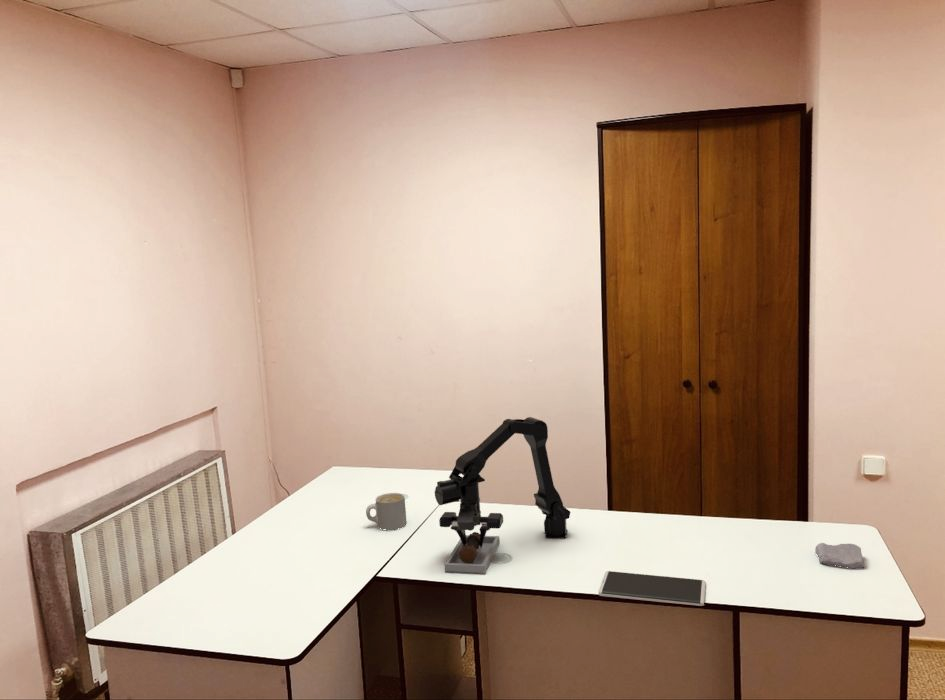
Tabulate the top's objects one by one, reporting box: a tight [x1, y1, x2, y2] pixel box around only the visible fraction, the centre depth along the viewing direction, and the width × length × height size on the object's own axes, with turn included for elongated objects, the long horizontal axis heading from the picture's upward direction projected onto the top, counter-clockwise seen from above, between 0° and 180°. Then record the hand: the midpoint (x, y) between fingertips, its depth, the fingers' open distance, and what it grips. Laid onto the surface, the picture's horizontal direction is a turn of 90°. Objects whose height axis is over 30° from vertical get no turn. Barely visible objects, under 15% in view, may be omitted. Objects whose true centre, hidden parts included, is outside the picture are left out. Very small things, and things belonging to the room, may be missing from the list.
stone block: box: [814, 542, 865, 569], centre depth 209 cm, size 12×5×10 cm
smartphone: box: [598, 570, 707, 607], centre depth 199 cm, size 13×27×2 cm, turn 71°
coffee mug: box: [365, 492, 407, 531], centre depth 256 cm, size 13×10×10 cm
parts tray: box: [444, 534, 501, 575], centre depth 226 cm, size 12×22×2 cm, turn 167°
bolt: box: [458, 531, 480, 563], centre depth 225 cm, size 6×5×15 cm
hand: (473, 546), depth 226 cm, fingers closed on bolt, 5 cm apart
